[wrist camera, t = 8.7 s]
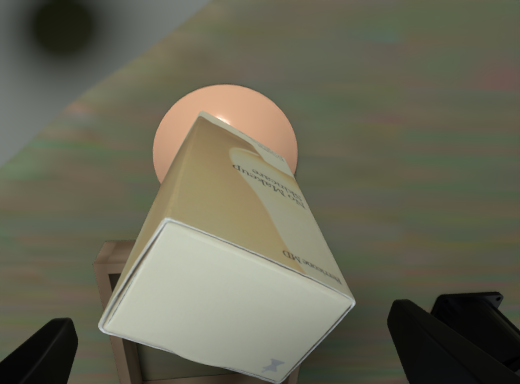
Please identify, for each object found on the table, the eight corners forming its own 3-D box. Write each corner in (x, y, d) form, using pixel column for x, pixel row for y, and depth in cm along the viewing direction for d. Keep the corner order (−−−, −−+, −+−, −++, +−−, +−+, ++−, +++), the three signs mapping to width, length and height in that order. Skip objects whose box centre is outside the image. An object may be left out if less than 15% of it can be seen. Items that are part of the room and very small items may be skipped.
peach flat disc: (302, 87, 19) (305, 89, 18) (287, 214, 23) (290, 220, 22) (148, 80, 17) (145, 81, 17) (161, 216, 21) (159, 222, 21)
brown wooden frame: (310, 236, 24) (319, 257, 22) (288, 374, 31) (293, 399, 29) (105, 241, 22) (92, 264, 20) (134, 387, 29) (128, 415, 27)
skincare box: (287, 157, 20) (372, 305, 9) (251, 208, 21) (287, 391, 10) (196, 104, 18) (161, 214, 7) (163, 165, 19) (90, 339, 8)
